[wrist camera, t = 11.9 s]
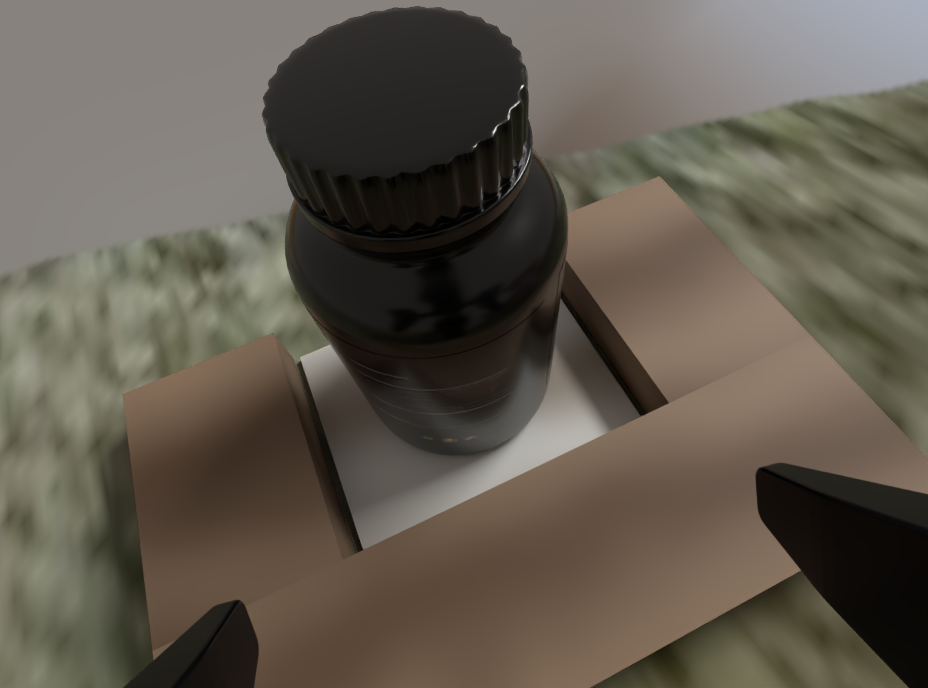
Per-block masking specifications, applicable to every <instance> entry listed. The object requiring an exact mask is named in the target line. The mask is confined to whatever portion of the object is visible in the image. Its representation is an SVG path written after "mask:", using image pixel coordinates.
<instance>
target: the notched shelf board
mask: <svg viewBox="0 0 928 688" xmlns="http://www.w3.org/2000/svg"><path fill="white" fill-rule="evenodd" d="M562 292H563V294H564V295H565V297H566V298H567V299H568V301H569V302H570V304H571V305H572V307H573V308H574V310H575V311H576V313H577V314H578V315H579V317H580V318H581V320H582V321H583V323H584V324H585V326H586V327H587V329H588V330H589V331H590V333H591V334H592V336H593V337H594V339H595V340H596V342H597V343H598V345H599V346H600V347H601V349H602V350H603V352H604V353H605V355H606V356H607V358H608V359H609V361H610V362H611V363H612V365H613V366H614V368H615V369H616V371H617V372H618V374H619V375H620V377H621V378H622V379H623V381H624V382H625V384H626V385H627V387H628V388H629V390H630V391H631V393H632V394H633V395H634V397H635V398H636V400H637V401H638V403H639V404H640V406H641V407H642V409H643V410H644V411H645V413H646V415H644V416H640V414H639V413H638V411H637V410H636V408H635V407H634V406H633V404H632V403H631V401H630V400H629V398H628V397H627V395H626V394H625V392H624V391H623V389H622V388H621V386H620V385H619V383H618V382H617V381H616V379H615V378H614V376H613V375H612V373H611V372H610V370H609V369H608V367H607V366H606V364H605V363H604V361H603V360H602V358H601V357H600V356H599V354H598V353H597V351H596V350H595V348H594V347H593V345H592V344H591V342H590V341H589V339H588V338H587V336H586V335H585V333H584V332H583V331H582V329H581V328H580V326H579V325H578V323H577V322H576V320H575V319H574V317H573V316H572V314H571V313H570V311H569V310H568V308H567V307H566V306H565V304H564V303H563V301H562V300H561V299H560V307H559V314H558V322H557V330H556V337H555V345H554V352H553V360H552V367H551V373H550V379H549V383H548V388H547V391H546V393H545V396H544V399H543V401H542V403H541V405H540V407H539V409H538V410H537V412H536V414H535V415H534V416H533V418H532V419H531V420H530V422H529V423H528V424H527V425H526V426H525V427H524V428H523V429H522V430H521V431H519V432H518V433H517V434H516V435H515V436H513V437H512V438H510V439H509V440H507V441H505V442H504V443H502V444H500V445H498V446H496V447H493V448H491V449H488V450H485V451H482V452H478V453H474V454H468V455H441V454H435V453H431V452H427V451H424V450H421V449H418V448H416V447H414V446H412V445H410V444H408V443H406V442H405V441H403V440H402V439H400V438H399V437H398V436H396V435H395V434H394V433H393V432H392V431H391V430H390V429H389V428H388V427H387V426H386V425H385V424H384V423H383V422H382V420H381V419H380V418H379V417H378V415H377V414H376V412H375V411H374V410H373V408H372V407H371V405H370V404H369V402H368V401H367V399H366V398H365V396H364V395H363V393H362V392H361V390H360V389H359V387H358V386H357V384H356V383H355V381H354V380H353V378H352V377H351V375H350V374H349V372H348V371H347V369H346V368H345V366H344V365H343V363H342V362H341V360H340V359H339V357H338V356H337V354H336V353H335V351H334V350H333V348H332V347H331V345H328V346H326V347H323V348H321V349H319V350H316V351H314V352H311V353H309V354H307V355H304V356H302V357H300V359H301V362H302V365H303V368H304V371H305V374H306V377H307V380H308V383H309V386H310V389H311V392H312V396H313V399H314V402H315V405H316V408H317V411H318V414H319V417H320V420H321V423H322V426H323V429H324V432H325V435H326V438H327V441H328V444H329V447H330V450H331V453H332V457H333V460H334V463H335V466H336V469H337V472H338V475H339V478H340V481H341V484H342V487H343V490H344V493H345V496H346V499H347V502H348V505H349V508H350V511H351V514H352V517H353V521H354V524H355V527H356V530H357V533H358V536H359V539H360V542H361V545H362V548H363V550H362V551H360V552H358V553H355V550H354V547H353V544H352V541H351V538H350V535H349V531H348V528H347V525H346V522H345V519H344V516H343V513H342V510H341V506H340V503H339V500H338V497H337V494H336V491H335V488H334V485H333V481H332V478H331V475H330V472H329V469H328V466H327V463H326V460H325V456H324V453H323V450H322V447H321V444H320V441H319V438H318V435H317V431H316V428H315V425H314V422H313V419H312V416H311V413H310V409H309V406H308V403H307V400H306V397H305V394H304V391H303V388H302V384H301V381H300V378H299V375H298V372H297V369H296V366H295V363H294V359H293V358H292V356H291V355H290V354H289V353H288V351H287V350H286V349H285V347H284V346H283V345H282V344H281V342H280V341H279V340H278V338H277V337H276V336H275V335H274V333H272V334H270V335H267V336H265V337H262V338H260V339H258V340H255V341H253V342H250V343H248V344H245V345H243V346H240V347H238V348H235V349H233V350H230V351H228V352H226V353H223V354H221V355H218V356H216V357H213V358H211V359H208V360H206V361H203V362H201V363H198V364H196V365H194V366H191V367H189V368H186V369H184V370H181V371H179V372H176V373H174V374H171V375H169V376H166V377H164V378H162V379H159V380H157V381H154V382H152V383H149V384H147V385H144V386H142V387H139V388H137V389H134V390H132V391H130V392H127V393H125V394H123V401H124V410H125V418H126V427H127V436H128V444H129V453H130V461H131V470H132V479H133V487H134V496H135V505H136V513H137V522H138V531H139V539H140V548H141V557H142V565H143V574H144V583H145V591H146V600H147V609H148V617H149V626H150V635H151V643H152V652H153V660H154V659H156V658H157V657H158V656H159V655H160V654H161V653H162V652H163V651H164V650H166V649H167V648H168V647H169V646H170V645H171V644H172V643H173V642H174V641H176V640H177V639H178V638H179V637H180V636H181V635H182V634H183V633H184V632H185V631H187V630H188V629H189V628H190V627H191V626H192V625H193V624H194V623H195V622H197V621H198V620H199V619H200V618H201V617H202V616H203V615H204V614H205V613H207V612H208V611H209V610H210V609H211V608H212V607H213V606H215V605H217V604H221V603H225V602H229V601H233V600H240V601H242V602H243V603H244V604H245V606H246V609H247V611H248V614H249V617H250V620H251V622H252V625H253V628H254V630H255V633H256V636H257V639H258V644H259V657H258V664H257V671H256V678H255V685H254V688H591V687H592V686H594V685H596V684H598V683H599V682H601V681H603V680H605V679H607V678H608V677H610V676H612V675H614V674H616V673H617V672H619V671H621V670H623V669H625V668H626V667H628V666H630V665H632V664H634V663H635V662H637V661H639V660H641V659H643V658H644V657H646V656H648V655H650V654H652V653H653V652H655V651H657V650H659V649H661V648H662V647H664V646H666V645H668V644H670V643H671V642H673V641H675V640H677V639H679V638H680V637H682V636H684V635H686V634H688V633H689V632H691V631H693V630H695V629H697V628H698V627H700V626H702V625H704V624H706V623H707V622H709V621H711V620H713V619H715V618H716V617H718V616H720V615H722V614H724V613H725V612H727V611H729V610H731V609H733V608H734V607H736V606H738V605H740V604H741V603H743V602H745V601H747V600H749V599H750V598H752V597H754V596H756V595H758V594H759V593H761V592H763V591H765V590H767V589H768V588H770V587H772V586H774V585H776V584H777V583H779V582H781V581H783V580H785V579H786V578H788V577H790V576H792V575H794V574H795V573H797V572H799V571H801V570H800V569H799V567H798V566H797V565H796V564H795V562H794V561H793V560H792V559H791V557H790V556H789V555H788V554H787V552H786V551H785V550H784V549H783V547H782V546H781V545H780V544H779V542H778V541H777V540H776V538H775V537H774V536H773V535H772V533H771V532H770V531H769V530H768V528H767V527H766V526H765V525H764V523H763V522H762V520H761V518H760V516H759V513H758V508H757V495H756V481H755V474H756V471H757V469H758V468H759V467H762V466H766V465H770V464H774V463H780V462H782V463H787V464H792V465H796V466H801V467H805V468H810V469H815V470H819V471H824V472H828V473H833V474H838V475H842V476H847V477H852V478H856V479H861V480H865V481H870V482H875V483H879V484H884V485H888V486H893V487H898V488H902V489H907V490H911V491H916V492H921V493H925V494H928V458H927V457H926V456H925V455H924V454H923V453H922V452H921V451H920V450H919V449H918V448H917V447H916V446H915V445H914V444H913V443H912V441H911V440H910V439H909V438H908V437H907V436H906V435H905V434H904V433H903V432H902V431H901V430H900V429H899V428H898V427H897V426H896V425H895V424H894V423H893V422H892V420H891V419H890V418H889V417H888V416H887V415H886V414H885V413H884V412H883V411H882V410H881V409H880V408H879V407H878V406H877V405H876V404H875V403H874V402H873V400H872V399H871V398H870V397H869V396H868V395H867V394H866V393H865V392H864V391H863V390H862V389H861V388H860V387H859V386H858V385H857V384H856V383H855V382H854V380H853V379H852V378H851V377H850V376H849V375H848V374H847V373H846V372H845V371H844V370H843V369H842V368H841V367H840V366H839V365H838V364H837V363H836V362H835V360H834V359H833V358H832V357H831V356H830V355H829V354H828V353H827V352H826V351H825V350H824V349H823V348H822V347H821V346H820V345H819V344H818V343H817V342H816V340H815V339H814V338H813V337H812V336H811V335H810V334H809V333H808V332H807V331H806V330H805V329H804V328H803V327H802V326H801V325H800V324H799V323H798V322H797V320H796V319H795V318H794V317H793V316H792V315H791V314H790V313H789V312H788V311H787V310H786V309H785V308H784V307H783V306H782V305H781V304H780V303H779V302H778V300H777V299H776V298H775V297H774V296H773V295H772V294H771V293H770V292H769V291H768V290H767V289H766V288H765V287H764V286H763V285H762V284H761V283H760V282H759V280H758V279H757V278H756V277H755V276H754V275H753V274H752V273H751V272H750V271H749V270H748V269H747V268H746V267H745V266H744V265H743V264H742V263H741V262H740V260H739V259H738V258H737V257H736V256H735V255H734V254H733V253H732V252H731V251H730V250H729V249H728V248H727V247H726V246H725V245H724V244H723V243H722V242H721V240H720V239H719V238H718V237H717V236H716V235H715V234H714V233H713V232H712V231H711V230H710V229H709V228H708V227H707V226H706V225H705V224H704V223H703V222H702V220H701V219H700V218H699V217H698V216H697V215H696V214H695V213H694V212H693V211H692V210H691V209H690V208H689V207H688V206H687V205H686V204H685V203H684V202H683V201H682V199H681V198H680V197H679V196H678V195H677V194H676V193H675V192H674V191H673V190H672V189H671V188H670V187H669V186H668V185H667V184H666V183H665V182H664V181H663V179H662V178H661V177H660V176H659V177H656V178H654V179H651V180H649V181H646V182H644V183H642V184H639V185H637V186H634V187H632V188H629V189H627V190H624V191H622V192H619V193H617V194H614V195H612V196H610V197H607V198H605V199H602V200H600V201H597V202H595V203H592V204H590V205H587V206H585V207H582V208H580V209H578V210H575V211H573V212H570V213H568V246H567V254H566V261H565V269H564V277H563V284H562Z"/></svg>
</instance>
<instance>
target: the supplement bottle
mask: <svg viewBox="0 0 928 688" xmlns="http://www.w3.org/2000/svg"><path fill="white" fill-rule="evenodd" d="M268 86H269V89H268V91H267V92H266V93H265V95H264V97H263V100H264V104H265V108H264V110H263V113H262V117H263V121H264V124H265V126H266V133H267V137H268V140H269V142H270V144H271V146H272V148H273V150H274V152H275V154H276V156H277V158H278V160H279V162H280V164H281V166H282V168H283V170H284V172H285V174H286V178H287V182H288V185H289V188H290V190H291V192H292V195H293V197H294V200H293V203H292V206H291V209H290V212H289V216H288V220H287V225H286V234H285V256H286V262H287V267H288V271H289V274H290V277H291V280H292V282H293V285H294V287H295V289H296V291H297V293H298V295H299V296H300V298H301V300H302V302H303V304H304V305H305V307H306V308H307V310H308V312H309V313H310V315H311V316H312V318H313V319H314V321H315V322H316V324H317V325H318V327H319V328H320V330H321V331H322V333H323V334H324V336H325V337H326V339H327V340H328V342H329V344H330V345H331V347H332V348H333V350H334V351H335V353H336V354H337V356H338V357H339V359H340V360H341V362H342V363H343V365H344V366H345V368H346V369H347V371H348V372H349V374H350V375H351V377H352V378H353V380H354V381H355V383H356V384H357V386H358V387H359V389H360V390H361V392H362V393H363V395H364V396H365V398H366V399H367V401H368V402H369V404H370V405H371V407H372V408H373V410H374V411H375V412H376V414H377V415H378V417H379V418H380V419H381V420H382V422H383V423H384V424H385V425H386V426H387V427H388V428H389V429H390V430H391V431H392V432H393V433H394V434H395V435H396V436H398V437H399V438H400V439H402V440H403V441H405V442H406V443H408V444H410V445H412V446H414V447H416V448H418V449H421V450H424V451H427V452H431V453H435V454H441V455H468V454H474V453H478V452H482V451H485V450H488V449H491V448H493V447H496V446H498V445H500V444H502V443H504V442H505V441H507V440H509V439H510V438H512V437H513V436H515V435H516V434H517V433H518V432H519V431H521V430H522V429H523V428H524V427H525V426H526V425H527V424H528V423H529V422H530V420H531V419H532V418H533V416H534V415H535V414H536V412H537V410H538V409H539V407H540V405H541V403H542V401H543V399H544V396H545V393H546V391H547V388H548V383H549V379H550V373H551V367H552V360H553V352H554V345H555V337H556V330H557V322H558V314H559V307H560V299H561V292H562V284H563V277H564V269H565V261H566V254H567V246H568V213H567V207H566V203H565V199H564V195H563V193H562V190H561V188H560V185H559V183H558V181H557V179H556V178H555V176H554V174H553V172H552V171H551V169H550V168H549V166H548V165H547V164H546V162H545V161H544V160H543V158H542V157H541V156H540V155H539V154H538V153H537V152H536V151H535V150H534V149H533V148H532V145H533V142H532V130H531V126H530V122H529V120H528V103H529V101H528V100H529V99H528V75H527V70H526V67H525V65H524V64H523V63H522V56H521V52H520V51H519V50H518V49H517V48H515V47H514V46H513V45H512V40H511V38H510V37H508V36H506V35H504V34H502V33H501V32H500V30H499V28H498V27H497V26H494V25H491V24H488V23H486V22H485V21H484V20H483V19H482V18H481V17H476V16H470V15H467V14H465V13H464V12H462V11H453V10H446V9H443V8H441V7H435V8H425V7H420V6H415V7H409V8H392V9H388V10H385V11H375V12H370V13H368V14H365V15H363V16H359V17H354V18H349V19H347V20H346V21H344V22H342V23H341V24H337V25H334V26H331V27H328V28H327V29H326V30H324V31H323V32H322V33H320V34H318V35H316V36H313V37H311V38H309V39H308V40H307V41H306V43H305V44H304V45H302V46H301V47H299V48H297V49H295V50H294V51H292V53H291V54H290V56H289V58H288V59H287V60H285V61H284V62H282V63H281V64H280V65H279V66H278V69H277V73H276V74H275V75H274V76H273V77H272V78H271V79H270V80H269V84H268Z"/></svg>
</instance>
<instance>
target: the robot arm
mask: <svg viewBox="0 0 928 688" xmlns="http://www.w3.org/2000/svg"><path fill="white" fill-rule="evenodd" d="M755 481H756V495H757V508H758V513H759V516H760V518H761V520H762V522H763V523H764V525H765V526H766V527H767V528H768V530H769V531H770V532H771V533H772V535H773V536H774V537H775V538H776V540H777V541H778V542H779V544H780V545H781V546H782V547H783V549H784V550H785V551H786V552H787V554H788V555H789V556H790V557H791V559H792V560H793V561H794V562H795V564H796V565H797V566H798V567H799V569H800V570H801V571H802V572H803V574H804V575H805V576H806V577H807V579H808V580H809V581H810V582H811V584H812V585H813V586H814V587H815V589H816V590H817V591H818V592H819V593H820V594H821V596H822V597H823V598H824V599H825V600H826V601H827V602H828V603H829V605H830V606H831V607H832V608H833V609H834V610H835V611H836V612H837V613H838V614H839V615H840V616H841V617H842V618H843V620H844V621H845V622H846V623H847V624H848V625H849V626H850V627H851V628H852V629H853V630H854V631H855V632H856V633H857V634H858V635H859V636H860V637H861V638H862V639H863V640H864V641H865V643H866V644H867V645H868V646H869V647H870V648H871V649H872V650H873V651H874V652H875V653H876V654H877V655H878V656H879V657H880V658H881V659H882V660H883V661H884V662H885V663H886V664H887V666H888V667H889V668H890V669H891V670H892V671H893V672H894V673H895V674H896V675H897V676H898V677H899V678H900V679H901V680H902V681H903V682H904V683H905V684H906V685H907V686H908V688H928V494H925V493H921V492H916V491H911V490H907V489H902V488H898V487H893V486H888V485H884V484H879V483H875V482H870V481H865V480H861V479H856V478H852V477H847V476H842V475H838V474H833V473H828V472H824V471H819V470H815V469H810V468H805V467H801V466H796V465H792V464H787V463H782V462H780V463H774V464H770V465H766V466H762V467H759V468H758V469H757V471H756V474H755ZM258 657H259V644H258V639H257V636H256V633H255V630H254V628H253V625H252V622H251V620H250V617H249V614H248V611H247V609H246V606H245V604H244V603H243V602H242V601H240V600H233V601H229V602H225V603H221V604H217V605H215V606H213V607H212V608H211V609H210V610H209V611H208V612H207V613H205V614H204V615H203V616H202V617H201V618H200V619H199V620H198V621H197V622H195V623H194V624H193V625H192V626H191V627H190V628H189V629H188V630H187V631H185V632H184V633H183V634H182V635H181V636H180V637H179V638H178V639H177V640H176V641H174V642H173V643H172V644H171V645H170V646H169V647H168V648H167V649H166V650H164V651H163V652H162V653H161V654H160V655H159V656H158V657H157V658H156V659H154V660H153V661H152V662H151V663H150V664H149V665H148V666H147V667H146V668H144V669H143V670H142V671H141V672H140V673H139V674H138V675H137V676H136V677H135V678H133V679H132V680H131V681H130V682H129V683H128V684H127V685H126V686H125V687H123V688H254V685H255V678H256V671H257V664H258Z"/></svg>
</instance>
